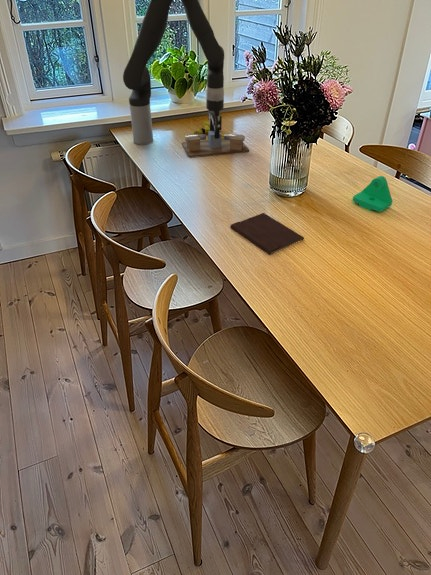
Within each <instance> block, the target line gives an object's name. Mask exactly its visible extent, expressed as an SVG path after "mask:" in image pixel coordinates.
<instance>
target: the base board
mask: <svg viewBox="0 0 431 575" xmlns="http://www.w3.org/2000/svg"><path fill="white" fill-rule="evenodd" d="M191 135H192V134H187V135H186V136H191ZM193 135H198V134H194V133H193ZM231 135H240V134H237V133H232V134H231ZM181 145H182V147H183V150H184V152H185V154H186V156H187V158H188V157H190V158H197V157H196V156H200V157H210V156H209V155H211V156H220V155H230V154H240V153H249V152H250V149H249V147H248V146H247V145H246V144H245V143H244V141H242V138H235V137H231V138H230V140H224V139H221V147H219V148H210V146H209V145H208V139H206V140H200V138H199V137H198V138H188V141H187V142H186V141H181Z"/></svg>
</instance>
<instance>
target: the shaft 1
mask: <svg viewBox="0 0 431 575" xmlns="http://www.w3.org/2000/svg"><path fill="white" fill-rule="evenodd" d="M190 135H191V136H187V135H185V136H184V138H185V142H187V141H188V138H198V137H199V138H200V141H202V140H207V135H206V134H202V135H194V134H190Z"/></svg>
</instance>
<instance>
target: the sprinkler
mask: <svg viewBox="0 0 431 575" xmlns="http://www.w3.org/2000/svg"><path fill="white" fill-rule="evenodd" d="M203 123H204V124H203V125H202V128H199V129H196V130H194V131H193V135H194V134H198V135H202V134H205V135H206V134H208V131H210V123H209V120H208V119H203ZM217 127H218V125H217ZM221 139H224V135H223V134H222V133H221Z"/></svg>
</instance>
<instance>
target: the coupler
mask: <svg viewBox="0 0 431 575" xmlns="http://www.w3.org/2000/svg"><path fill="white" fill-rule="evenodd" d="M221 134H222V132H220V138H219V139H215V138H214V131H208V132H207V140H208V145H209V146H210V148H219V147H221Z"/></svg>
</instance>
